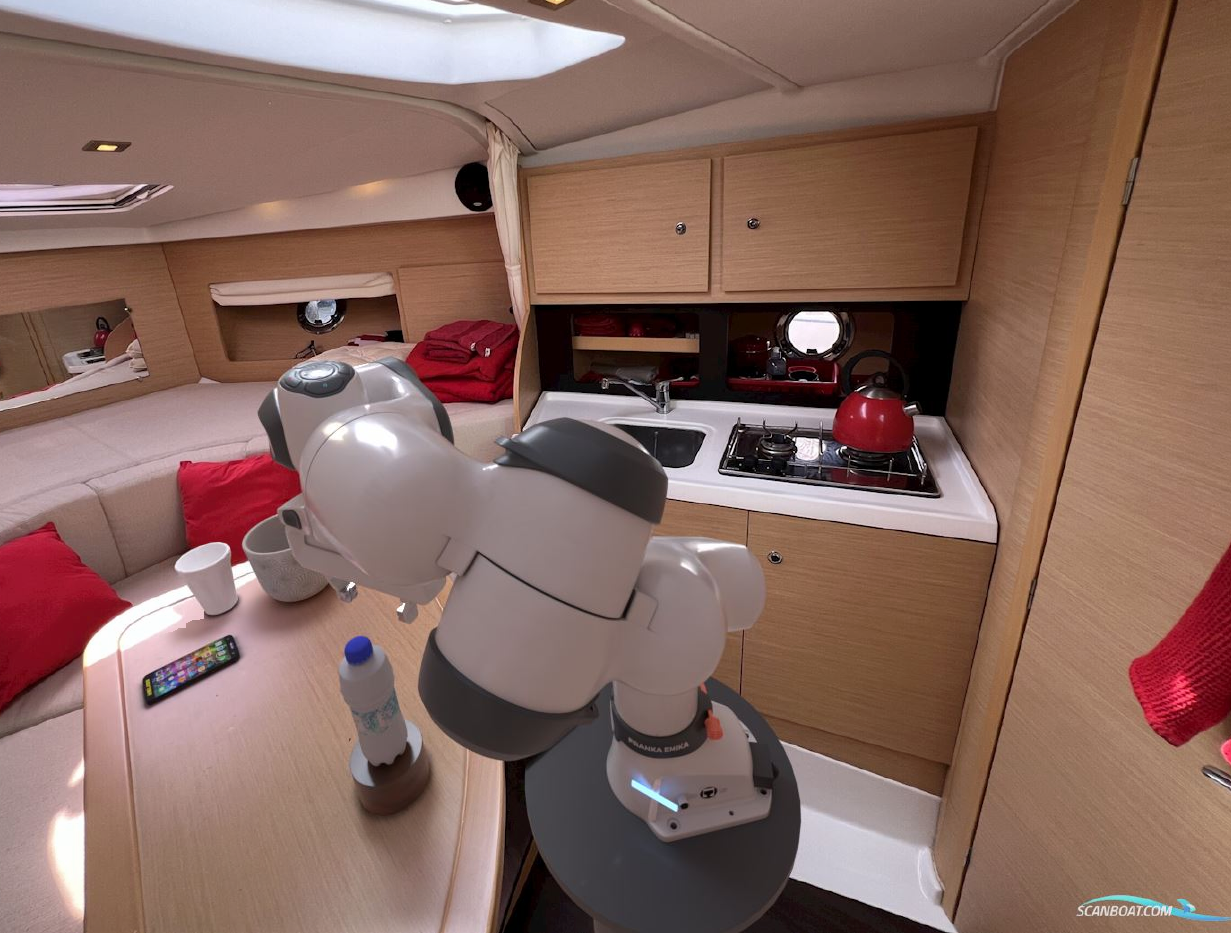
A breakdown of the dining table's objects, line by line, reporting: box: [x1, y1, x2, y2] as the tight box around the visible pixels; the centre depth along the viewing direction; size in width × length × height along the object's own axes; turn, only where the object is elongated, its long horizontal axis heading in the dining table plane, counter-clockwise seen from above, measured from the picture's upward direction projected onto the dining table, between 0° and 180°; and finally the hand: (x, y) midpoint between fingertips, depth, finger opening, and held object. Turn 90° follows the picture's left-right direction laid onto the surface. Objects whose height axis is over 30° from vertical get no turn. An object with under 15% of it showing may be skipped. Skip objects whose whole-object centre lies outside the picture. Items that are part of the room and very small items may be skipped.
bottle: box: [338, 635, 408, 766], centre depth 73 cm, size 7×7×20 cm
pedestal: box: [349, 718, 430, 816], centre depth 77 cm, size 10×10×6 cm
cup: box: [174, 541, 239, 616], centre depth 114 cm, size 10×10×13 cm
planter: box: [241, 513, 330, 603], centre depth 117 cm, size 17×17×15 cm
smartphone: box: [141, 634, 241, 705], centre depth 100 cm, size 8×1×15 cm
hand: (378, 608), depth 64 cm, fingers open, 8 cm apart
